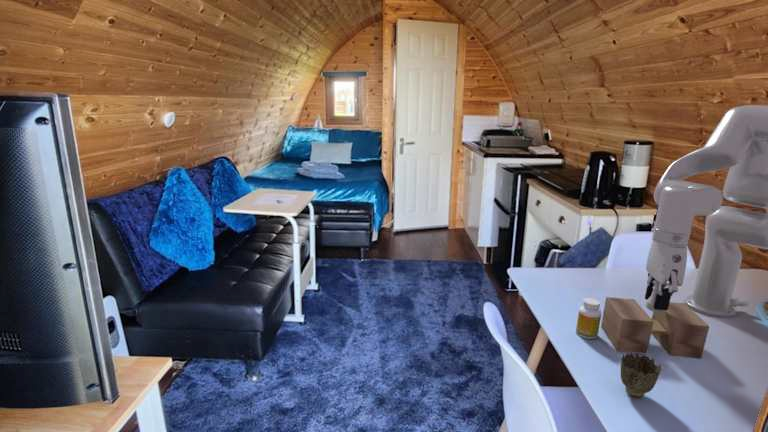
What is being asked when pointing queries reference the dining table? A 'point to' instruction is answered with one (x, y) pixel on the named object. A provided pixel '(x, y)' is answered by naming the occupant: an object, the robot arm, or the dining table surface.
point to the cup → (638, 374)
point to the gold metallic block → (658, 328)
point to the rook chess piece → (653, 297)
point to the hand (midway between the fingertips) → (655, 303)
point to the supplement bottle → (589, 319)
